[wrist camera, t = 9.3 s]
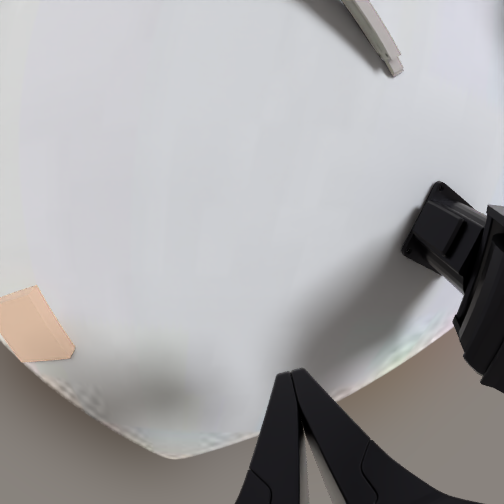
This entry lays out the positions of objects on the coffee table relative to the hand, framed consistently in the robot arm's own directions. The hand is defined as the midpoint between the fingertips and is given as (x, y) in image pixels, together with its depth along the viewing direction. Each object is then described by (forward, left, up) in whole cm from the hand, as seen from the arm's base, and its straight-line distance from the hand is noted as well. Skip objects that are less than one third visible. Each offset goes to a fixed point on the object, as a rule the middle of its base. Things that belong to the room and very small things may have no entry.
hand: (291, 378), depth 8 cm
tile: (+13, +13, -12) cm, 22 cm away
